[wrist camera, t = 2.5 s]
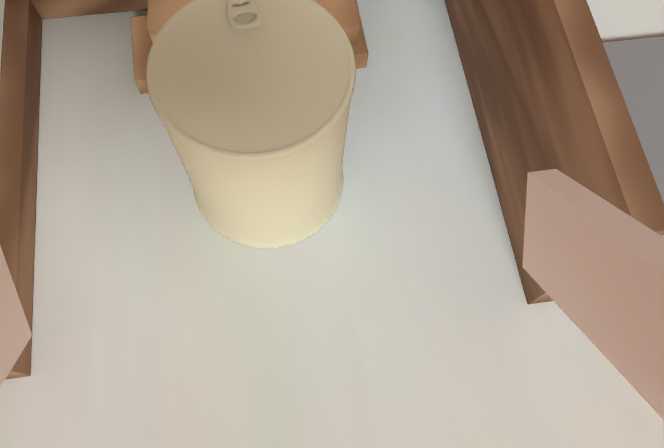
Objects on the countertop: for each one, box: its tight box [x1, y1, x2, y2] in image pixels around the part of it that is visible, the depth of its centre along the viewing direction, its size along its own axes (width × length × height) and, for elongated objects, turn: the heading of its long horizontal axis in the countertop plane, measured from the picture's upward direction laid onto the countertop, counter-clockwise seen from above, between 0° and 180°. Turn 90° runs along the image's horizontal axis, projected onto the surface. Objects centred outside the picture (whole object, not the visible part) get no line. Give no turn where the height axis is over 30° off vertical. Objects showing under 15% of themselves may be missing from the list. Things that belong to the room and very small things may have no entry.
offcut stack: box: [131, 0, 368, 94], centre depth 37 cm, size 15×5×5 cm, turn 99°
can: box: [146, 0, 356, 248], centre depth 30 cm, size 9×9×12 cm
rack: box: [0, 0, 664, 379], centre depth 31 cm, size 31×26×12 cm
